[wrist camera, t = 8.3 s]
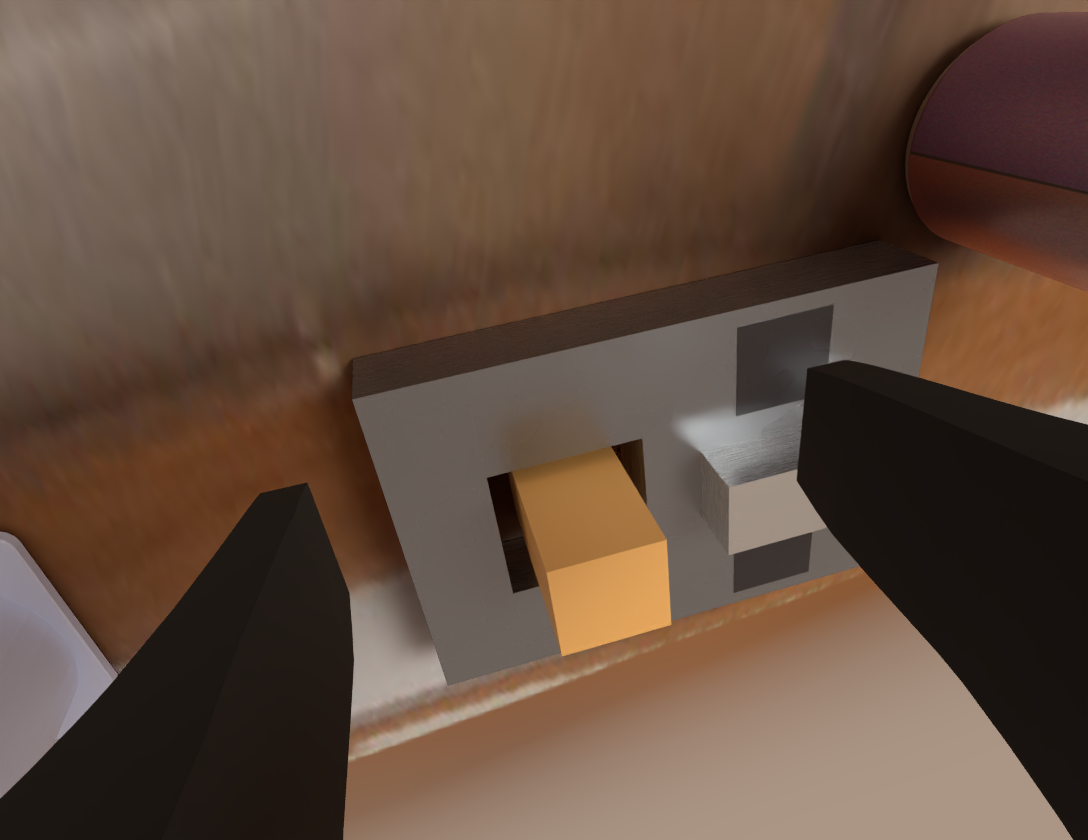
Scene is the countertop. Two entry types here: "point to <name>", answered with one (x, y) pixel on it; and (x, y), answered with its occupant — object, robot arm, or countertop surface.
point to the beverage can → (1010, 147)
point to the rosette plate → (620, 428)
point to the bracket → (756, 492)
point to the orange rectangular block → (592, 549)
